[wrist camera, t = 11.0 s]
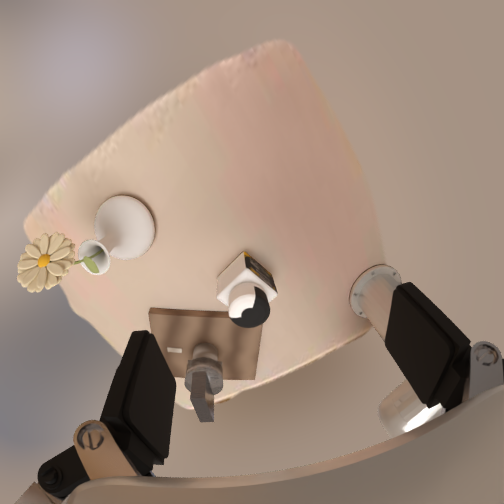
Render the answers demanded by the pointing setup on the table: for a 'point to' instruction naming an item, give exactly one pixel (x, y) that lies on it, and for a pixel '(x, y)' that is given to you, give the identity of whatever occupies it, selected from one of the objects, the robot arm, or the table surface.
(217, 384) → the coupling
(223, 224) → the table surface
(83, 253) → the flower in vase
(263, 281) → the medicine bottle
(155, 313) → the brown wooden board
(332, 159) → the table surface
